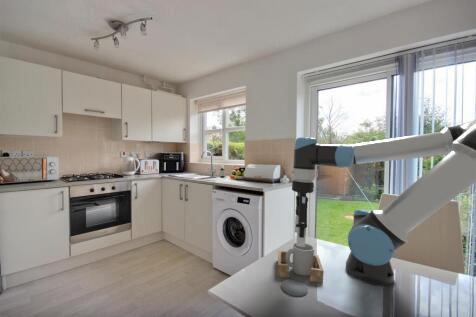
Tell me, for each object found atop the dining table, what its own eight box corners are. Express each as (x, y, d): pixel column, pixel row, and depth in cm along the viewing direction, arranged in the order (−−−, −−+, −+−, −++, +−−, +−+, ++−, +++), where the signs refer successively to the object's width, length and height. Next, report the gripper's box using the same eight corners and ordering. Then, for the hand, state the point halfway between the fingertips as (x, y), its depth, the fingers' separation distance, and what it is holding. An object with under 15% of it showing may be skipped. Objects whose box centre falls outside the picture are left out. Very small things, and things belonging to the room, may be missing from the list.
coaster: (306, 283, 75) (306, 281, 75) (308, 298, 67) (309, 296, 67) (281, 279, 76) (281, 277, 76) (281, 293, 68) (281, 291, 68)
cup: (315, 276, 79) (317, 251, 79) (287, 275, 79) (288, 250, 79) (308, 266, 87) (310, 243, 86) (282, 265, 87) (283, 241, 86)
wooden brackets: (317, 265, 87) (318, 255, 87) (322, 282, 76) (323, 270, 76) (278, 260, 90) (278, 250, 90) (277, 275, 79) (277, 264, 78)
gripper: (291, 176, 95) (288, 226, 96) (293, 184, 71) (289, 251, 71) (310, 178, 94) (306, 229, 94) (319, 186, 69) (314, 255, 70)
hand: (299, 238), depth 83 cm, fingers open, 13 cm apart
